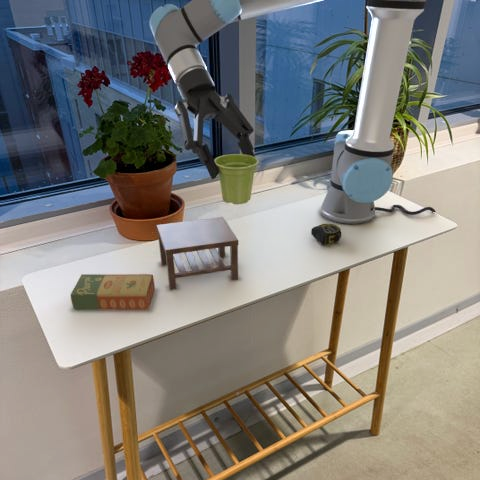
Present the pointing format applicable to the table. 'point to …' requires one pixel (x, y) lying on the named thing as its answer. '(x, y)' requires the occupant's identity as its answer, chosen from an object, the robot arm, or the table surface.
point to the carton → (113, 292)
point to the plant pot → (236, 177)
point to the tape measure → (326, 233)
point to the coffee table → (197, 247)
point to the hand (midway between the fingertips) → (235, 170)
